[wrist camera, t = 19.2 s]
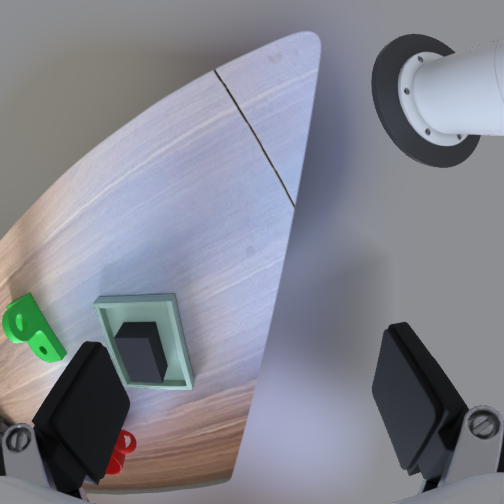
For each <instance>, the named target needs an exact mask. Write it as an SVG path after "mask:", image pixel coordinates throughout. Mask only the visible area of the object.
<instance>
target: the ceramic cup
mask: <svg viewBox="0 0 504 504" xmlns="http://www.w3.org/2000/svg"><path fill="white" fill-rule="evenodd" d="M124 435H126V436H129V437H130V438H131V443H130V445H129V446H128V447H127V448H126V445H125V438H124ZM135 448H136V439H135V437H134V436H133V435H132V434H131V433H129V432H127V431H125V430H121V431H120V434H119V437H118V439H117V442H116V445H115V448H114V450H113V453H112V456H111V459H110V462H109V464H108V467H107V470H106V473H105V474H109V475H115V474H119V473H120V472H121V471H122V469H123V465H124V459H125V454H129V453H131V452H133V451H134V450H135Z"/></svg>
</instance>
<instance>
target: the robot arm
mask: <svg viewBox="0 0 504 504" xmlns="http://www.w3.org/2000/svg"><path fill="white" fill-rule="evenodd" d="M404 91H405V92H404ZM398 95H399V100H400V104H401V106H402V109H403V112H404V114H405V116H406V118H407V120H408V121H409V123H410V124H411V126H412V127H413V128H414V130H415V131H416V132H417V133H418V134H419V135H420V136H422V137H423V138H424V139H426V140H427V141H429V142H431V143H433V144H436V145H440V146H452V145H456V144H458V143H460V142H461V141H463V140H464V139H465V138H466V137H467V135H468V134H475V135H495V136H504V39H501V40H497V41H493V42H490V43H486V44H482V45H479V46H476V47H472V48H469V49H466V50H463V51H460V52H457V53H454V54H451V55H448V56H445V57H443V56H441V55H439V54H436V53H432V52H421V53H418V54H415V55H413V56H412V57H410V58H409V59H407V60H406V61H405V62H404V64H403V66H402V67H401V70H400V73H399V76H398ZM372 394H373V397H374V399H375V402H376V404H377V406H378V409H379V411H380V414H381V416H382V419H383V421H384V424H385V426H386V429H387V432H388V434H389V437H390V439H391V442H392V444H393V447H394V450H395V452H396V455H397V458H398V460H399V463H400V466H401V468H402V469H403V470H406V469H407V471H408V474H409V476H411V475H413V474H416V473H419V472H421V473H422V476H423V478H424V481H423V483H422V485H421V487H420V490H419V492H418V494H417V495H415V496H413V497H409V498H406V499H403V500H400V501H397V502H393V503H390V504H504V420H503V418H502V416H501V414H500V413H499V412H498V411H497V410H495V409H494V408H492V407H489V406H483V405H480V406H475V407H474V408H472V409H470V410H469V409H468V407H467V405H466V404H465V402H464V401H463V399H462V398H461V396H460V395H459V393H458V392H457V390H456V389H455V387H454V386H453V384H452V383H451V381H450V380H449V378H448V377H447V375H446V374H445V373H444V371H443V370H442V368H441V367H440V365H439V364H438V363H437V361H436V360H435V359H434V357H432V355H431V354H430V353H429V351H428V350H427V348H426V347H425V346H424V344H423V343H422V342H421V340H420V339H419V338H418V336H417V335H416V334H415V332H414V331H413V330H412V328H411V327H410V326H409V324H408V323H406V322H402V323H397V324H391V325H389V327H388V329H386V330H385V331H384V333H383V338H382V344H381V348H380V354H379V358H378V363H377V368H376V372H375V376H374V381H373V385H372ZM129 407H130V400H129V398H128V395H127V393H126V391H125V389H124V387H123V385H122V383H121V381H120V378H119V376H118V374H117V372H116V369H115V367H114V365H113V363H112V360H111V358H110V355H109V353H108V351H107V349H106V347H104V346H103V345H102V344H101V343H100V342H89V341H86V342H84V343H83V344H82V346H81V347H80V348H79V350H78V351H77V353H76V354H75V356H74V357H73V358H72V360H71V361H70V363H69V364H68V366H67V367H66V369H65V370H64V371H63V373H62V374H61V376H60V377H59V379H58V380H57V382H56V383H55V385H54V386H53V388H52V390H51V391H50V393H49V394H48V396H47V397H46V399H45V400H44V402H43V404H42V405H41V407H40V408H39V410H38V412H37V413H36V415H35V416H34V418H33V420H32V422H33V423H34V425H35V426H34V428H32V427H31V426H30V425H28V424H26V423H18V424H15V425H13V426H11V427H10V428H9V429H7V431H6V432H5V433H4V435H3V438H2V446H1V447H0V504H95V503H91V502H89V500H88V498H87V496H86V494H85V491H84V489H83V487H82V484H83V481H85V482H88V483H91V484H95V485H98V484H99V481H100V479H102V478H103V477H104V476H105V473H106V470H107V467H108V464H109V462H110V459H111V456H112V453H113V450H114V448H115V445H116V442H117V439H118V437H119V434H120V431H121V429H122V426H123V423H124V421H125V418H126V416H127V413H128V410H129Z"/></svg>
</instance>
